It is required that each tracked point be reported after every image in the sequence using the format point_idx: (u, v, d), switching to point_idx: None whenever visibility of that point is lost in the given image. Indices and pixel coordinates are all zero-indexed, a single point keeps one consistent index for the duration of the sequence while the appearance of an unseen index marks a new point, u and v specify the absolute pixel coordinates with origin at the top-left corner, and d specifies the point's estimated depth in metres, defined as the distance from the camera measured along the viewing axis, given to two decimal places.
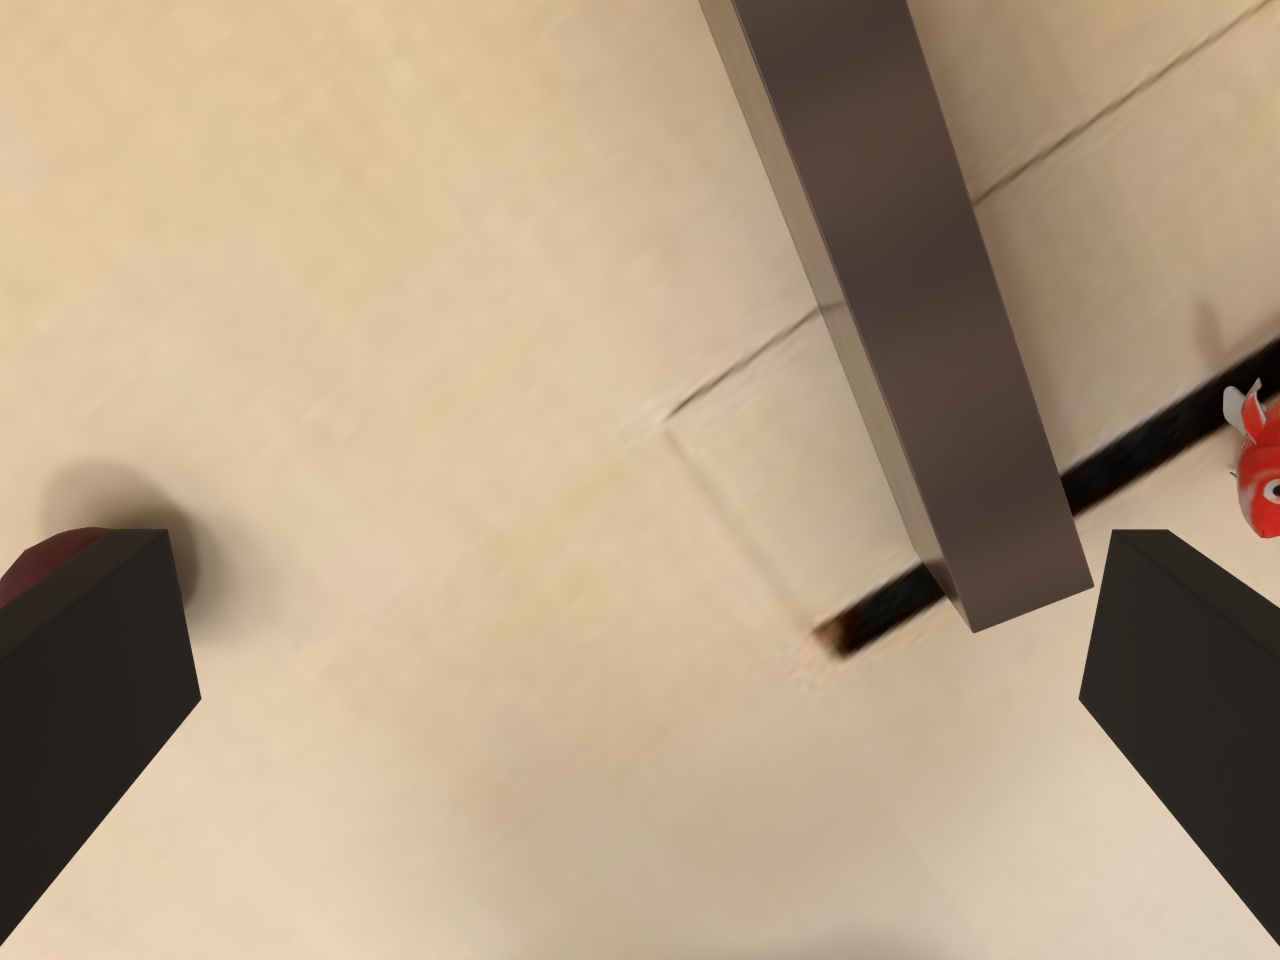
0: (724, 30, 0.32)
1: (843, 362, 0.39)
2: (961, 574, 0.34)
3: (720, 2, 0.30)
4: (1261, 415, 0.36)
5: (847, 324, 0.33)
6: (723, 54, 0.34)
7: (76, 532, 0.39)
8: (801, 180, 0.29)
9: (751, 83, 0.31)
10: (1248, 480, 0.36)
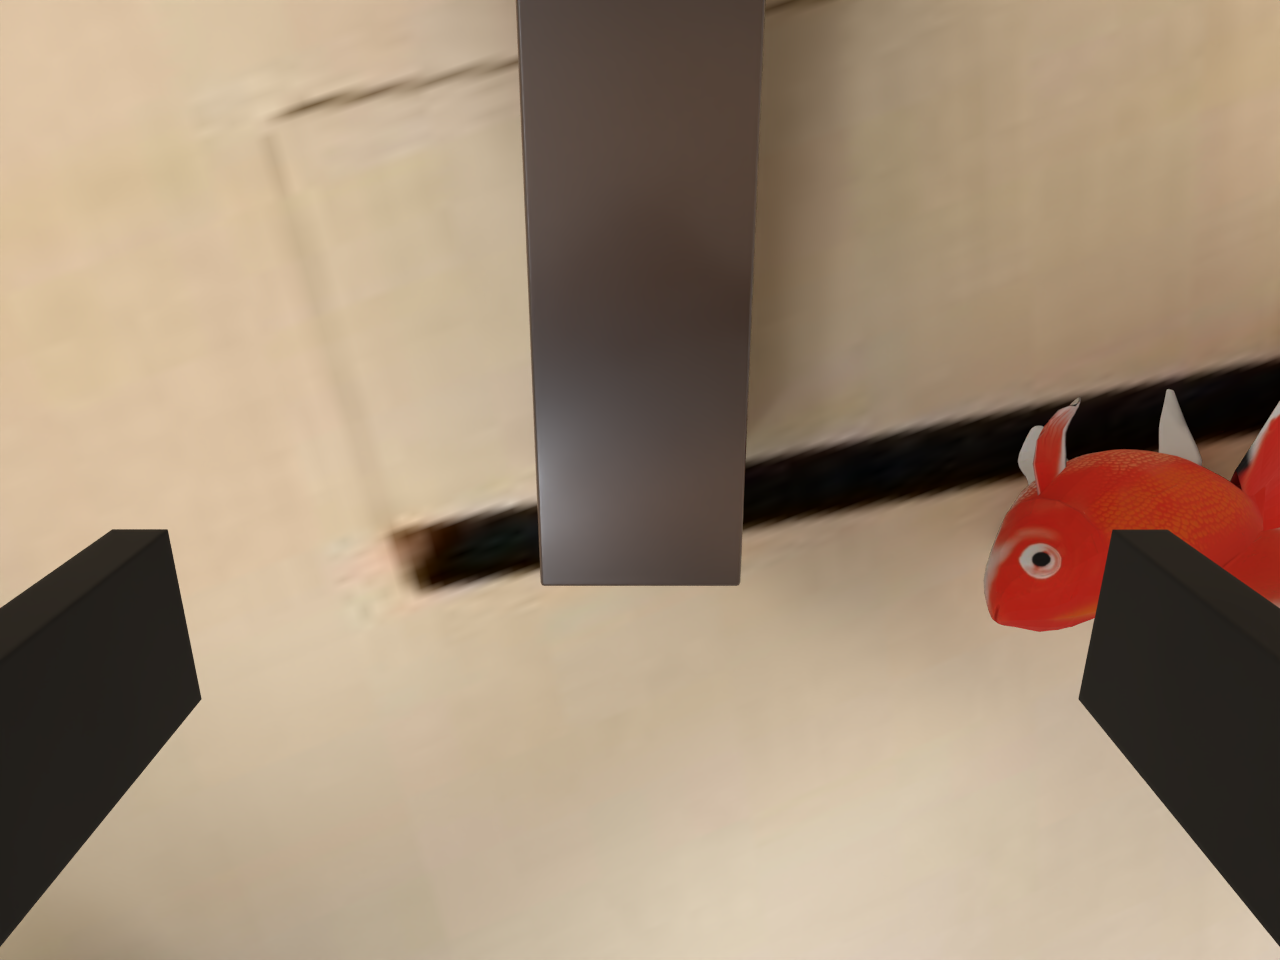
0: None
1: None
2: (552, 483, 0.21)
3: None
4: (1061, 459, 0.25)
5: None
6: None
7: None
8: None
9: None
10: (1008, 535, 0.25)
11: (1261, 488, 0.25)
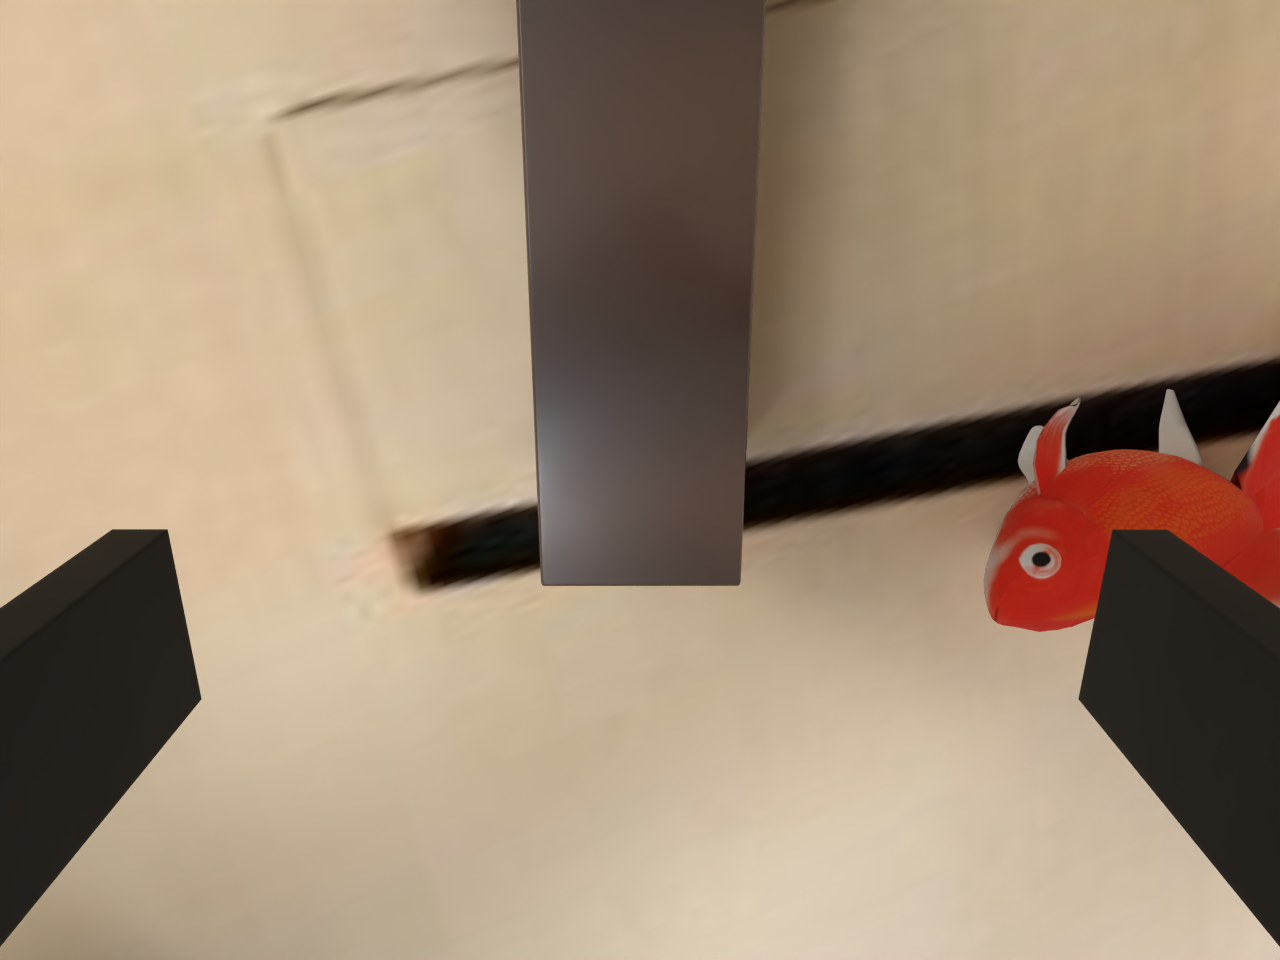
0: None
1: None
2: (552, 483, 0.21)
3: None
4: (1061, 459, 0.25)
5: None
6: None
7: None
8: None
9: None
10: (1008, 535, 0.25)
11: (1261, 488, 0.25)
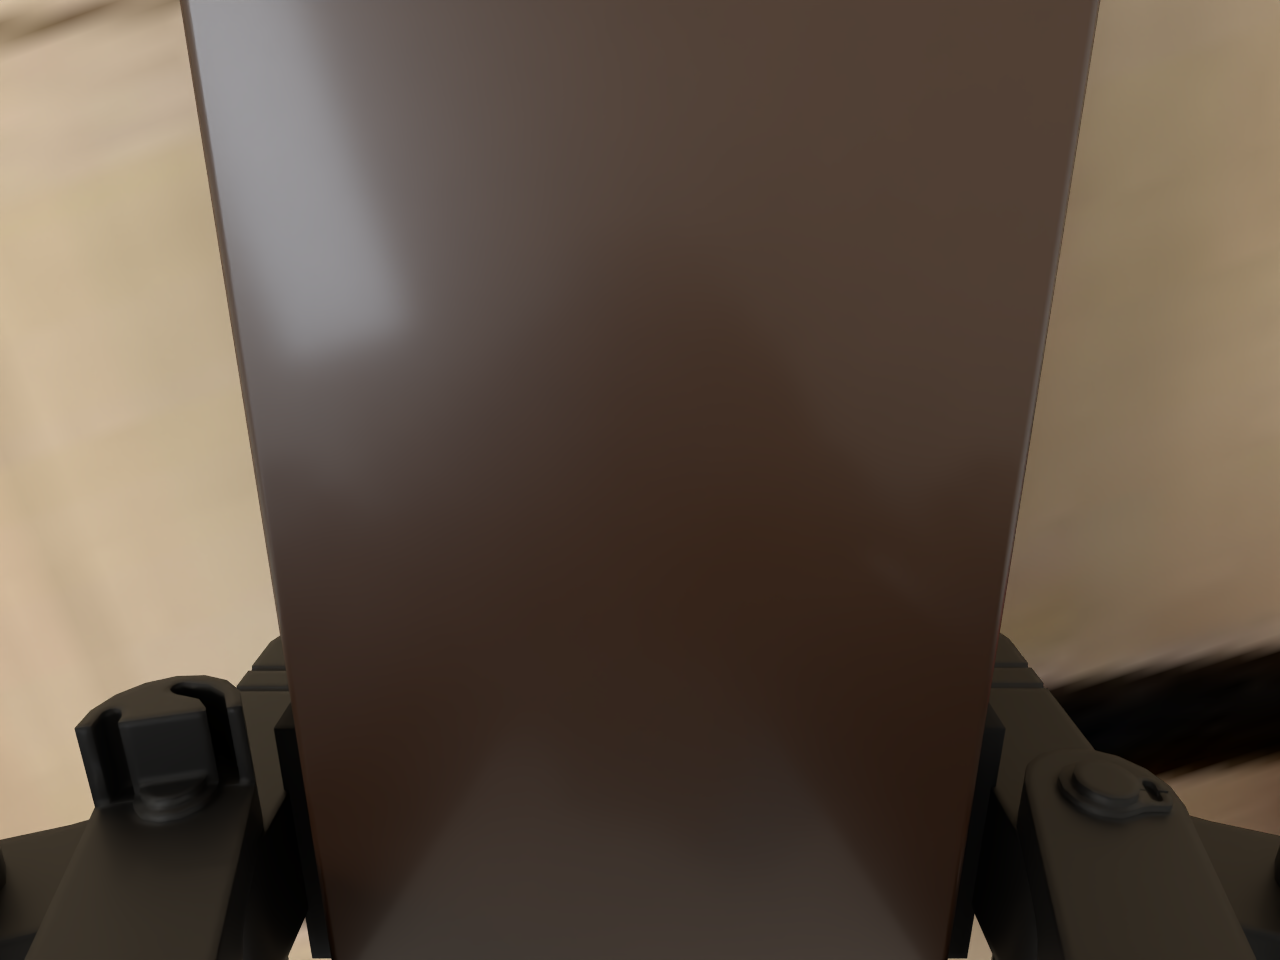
0: None
1: None
2: None
3: None
4: None
5: None
6: None
7: None
8: None
9: None
10: None
11: None
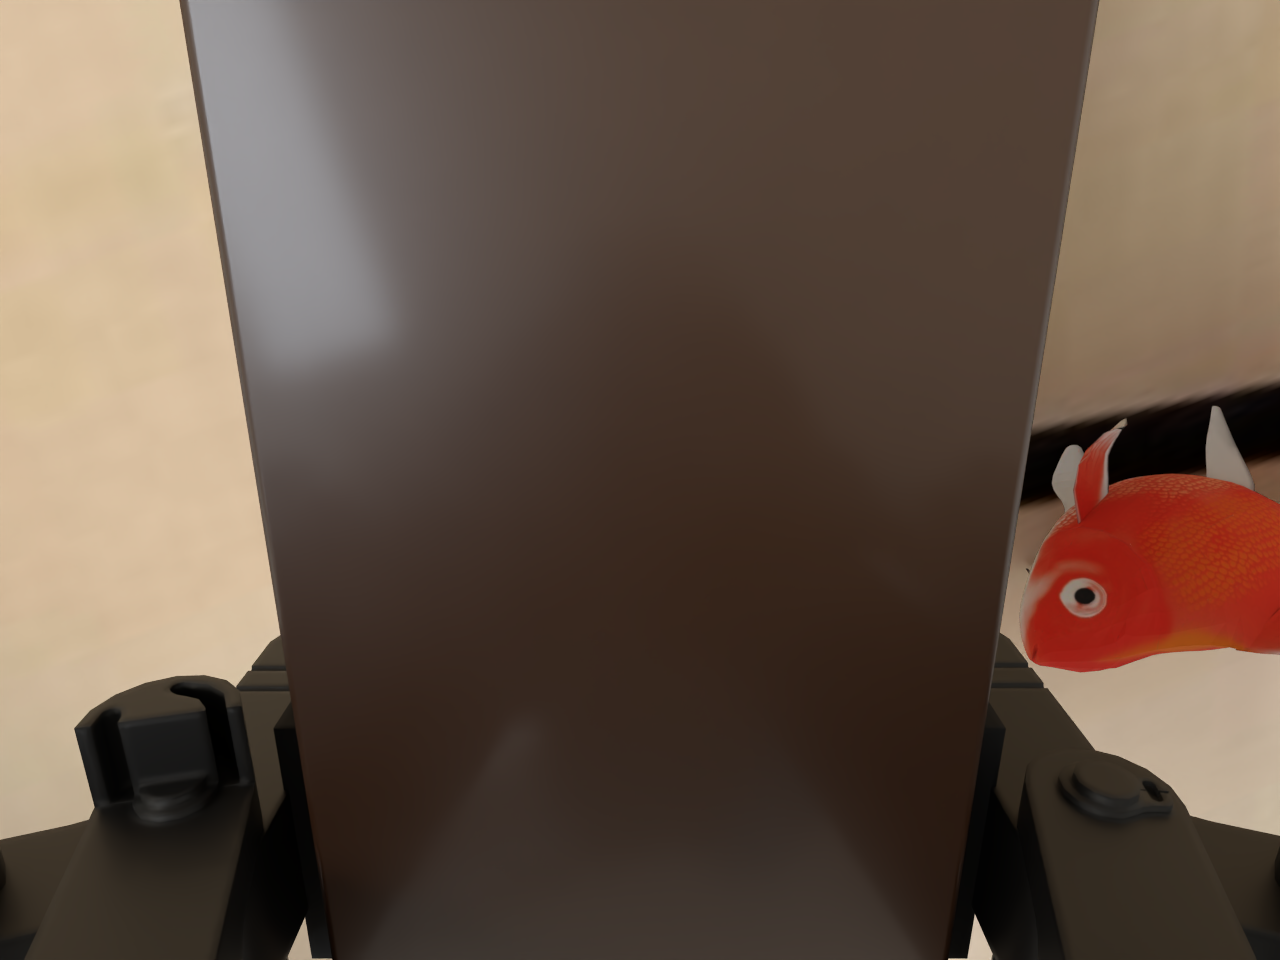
0: None
1: None
2: None
3: None
4: (1103, 484, 0.23)
5: None
6: None
7: None
8: None
9: None
10: (1047, 568, 0.23)
11: None
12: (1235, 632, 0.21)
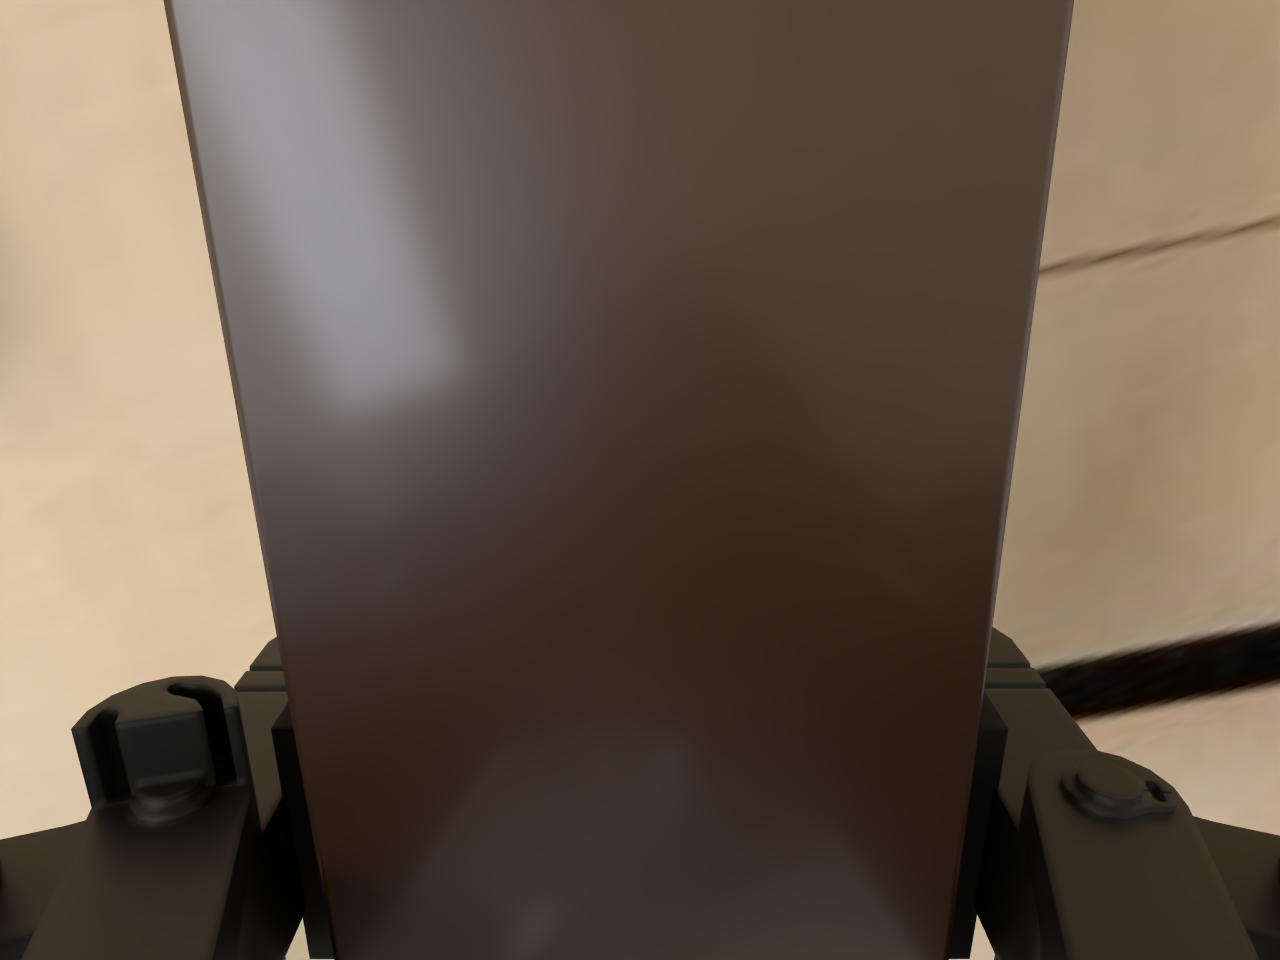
0: None
1: None
2: None
3: None
4: None
5: None
6: None
7: None
8: None
9: None
10: None
11: None
12: None
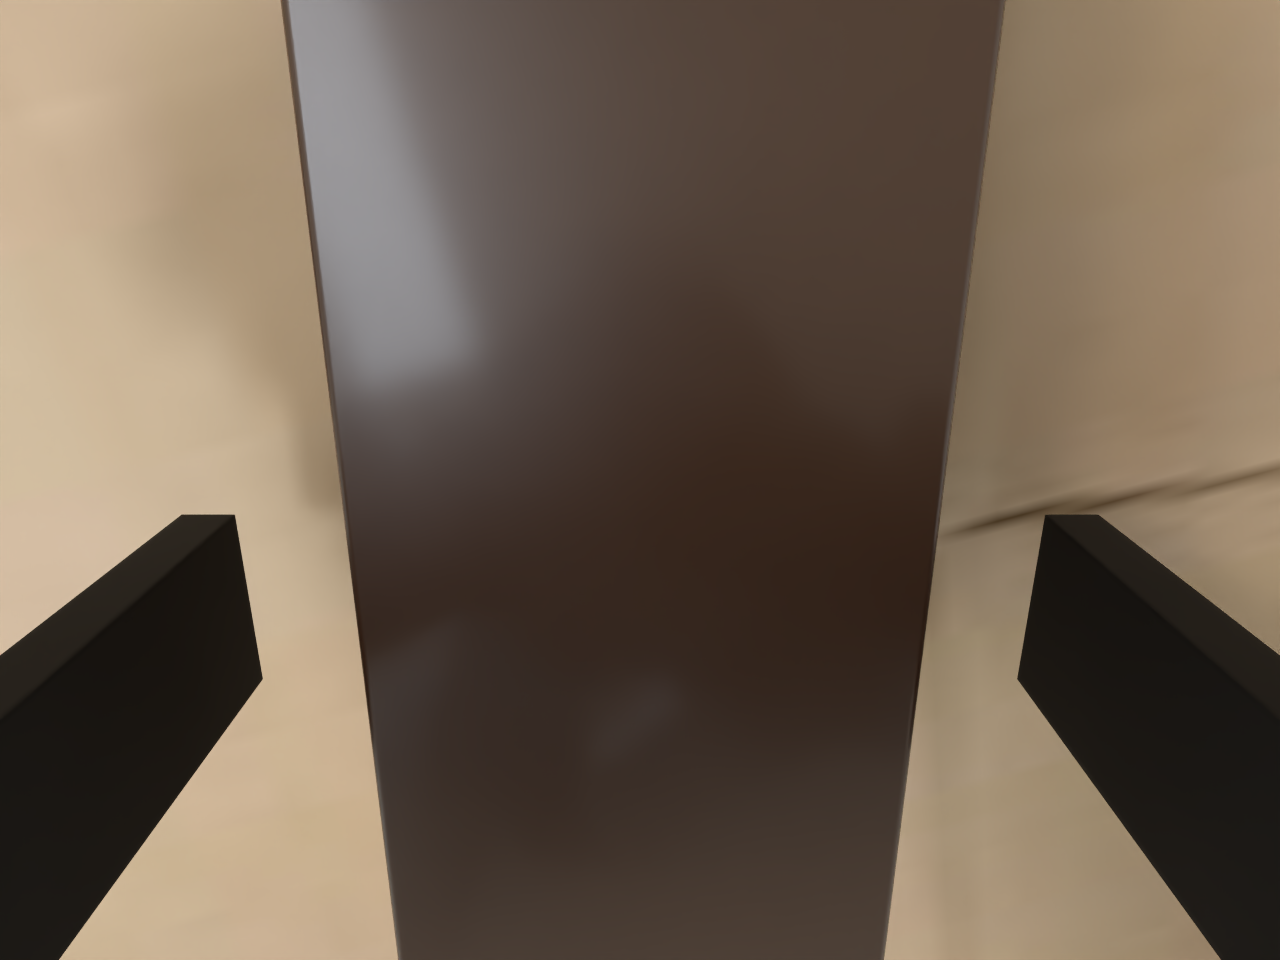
0: None
1: None
2: (430, 929, 0.09)
3: None
4: None
5: None
6: None
7: None
8: None
9: None
10: None
11: None
12: None
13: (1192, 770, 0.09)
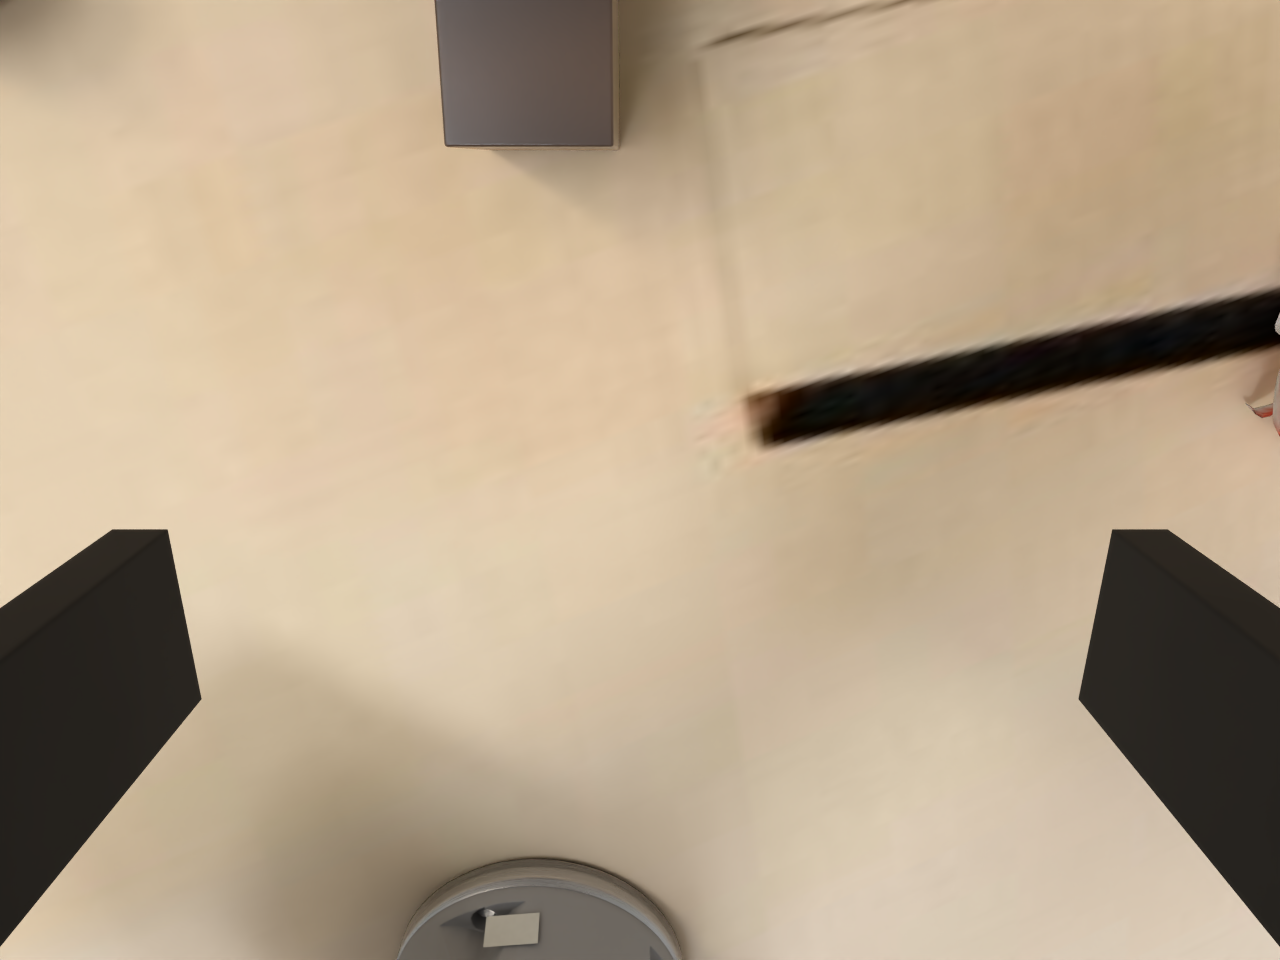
0: None
1: None
2: (450, 42, 0.25)
3: None
4: None
5: None
6: None
7: None
8: None
9: None
10: None
11: None
12: None
13: None
